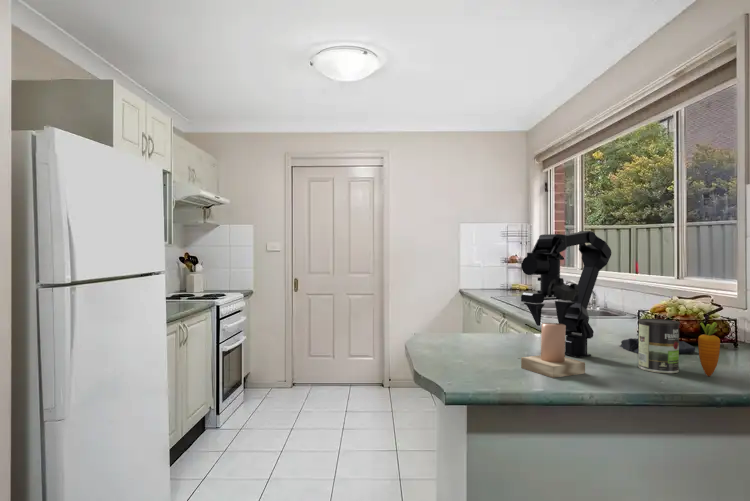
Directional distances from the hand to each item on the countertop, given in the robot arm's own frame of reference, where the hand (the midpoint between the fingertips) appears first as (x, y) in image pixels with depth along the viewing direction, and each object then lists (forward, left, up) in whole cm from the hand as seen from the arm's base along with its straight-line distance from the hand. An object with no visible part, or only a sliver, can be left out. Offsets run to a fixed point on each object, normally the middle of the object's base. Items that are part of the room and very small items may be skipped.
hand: (549, 324), depth 150 cm
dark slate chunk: (-48, +3, -12) cm, 49 cm away
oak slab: (+9, +10, -11) cm, 17 cm away
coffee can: (-21, +21, -11) cm, 32 cm away
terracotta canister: (+9, +10, -8) cm, 16 cm away
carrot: (-26, +32, -11) cm, 43 cm away
